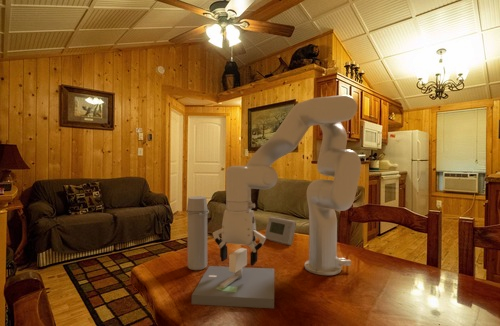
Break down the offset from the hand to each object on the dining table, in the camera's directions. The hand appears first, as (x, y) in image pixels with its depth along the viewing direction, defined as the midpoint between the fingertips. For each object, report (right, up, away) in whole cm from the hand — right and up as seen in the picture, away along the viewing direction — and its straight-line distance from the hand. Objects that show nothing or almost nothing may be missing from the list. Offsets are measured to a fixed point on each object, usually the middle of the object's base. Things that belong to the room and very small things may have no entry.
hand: (238, 261), depth 85 cm
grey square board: (0, -7, -2) cm, 8 cm away
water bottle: (-15, -7, +13) cm, 21 cm away
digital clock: (+18, -7, +46) cm, 49 cm away
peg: (-1, -5, -2) cm, 6 cm away
